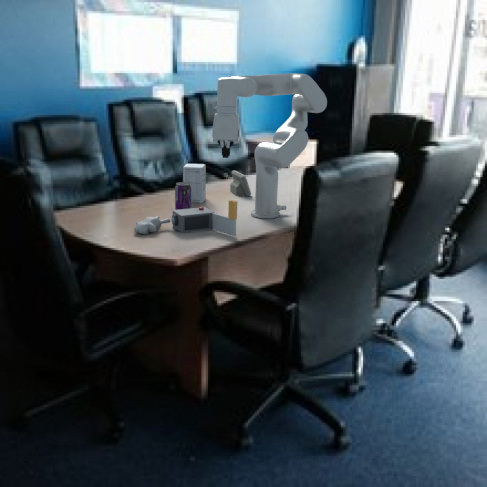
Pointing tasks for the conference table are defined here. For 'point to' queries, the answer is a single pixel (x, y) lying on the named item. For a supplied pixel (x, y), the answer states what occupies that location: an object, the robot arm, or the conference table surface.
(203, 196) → the supplement box
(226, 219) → the door
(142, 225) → the bunny figurine
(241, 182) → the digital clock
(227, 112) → the robot arm
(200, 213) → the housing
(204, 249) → the conference table surface
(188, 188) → the beverage can
